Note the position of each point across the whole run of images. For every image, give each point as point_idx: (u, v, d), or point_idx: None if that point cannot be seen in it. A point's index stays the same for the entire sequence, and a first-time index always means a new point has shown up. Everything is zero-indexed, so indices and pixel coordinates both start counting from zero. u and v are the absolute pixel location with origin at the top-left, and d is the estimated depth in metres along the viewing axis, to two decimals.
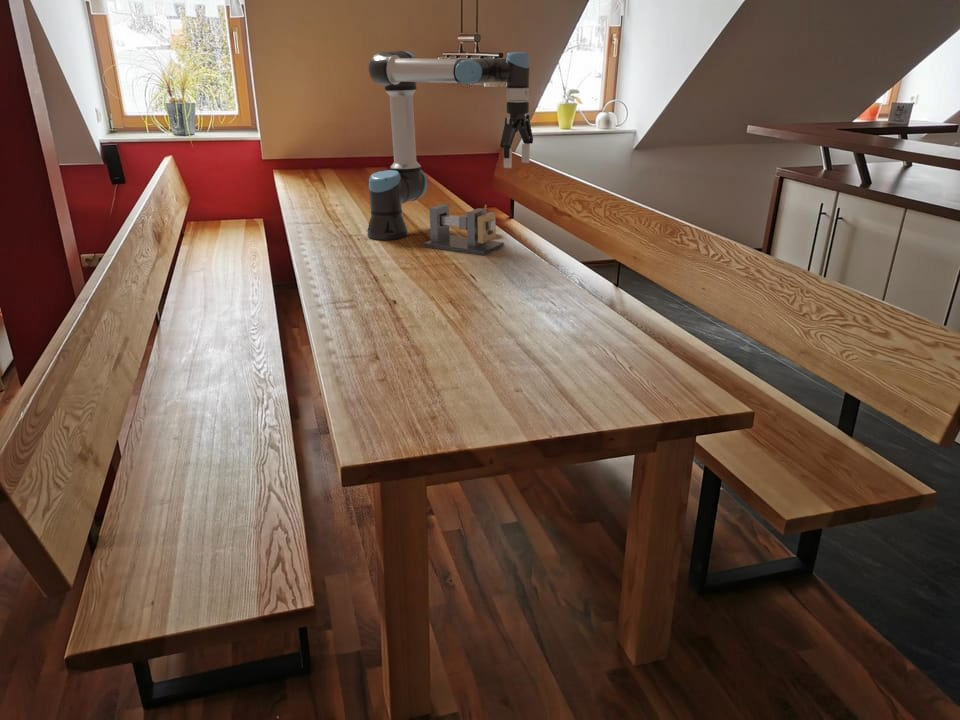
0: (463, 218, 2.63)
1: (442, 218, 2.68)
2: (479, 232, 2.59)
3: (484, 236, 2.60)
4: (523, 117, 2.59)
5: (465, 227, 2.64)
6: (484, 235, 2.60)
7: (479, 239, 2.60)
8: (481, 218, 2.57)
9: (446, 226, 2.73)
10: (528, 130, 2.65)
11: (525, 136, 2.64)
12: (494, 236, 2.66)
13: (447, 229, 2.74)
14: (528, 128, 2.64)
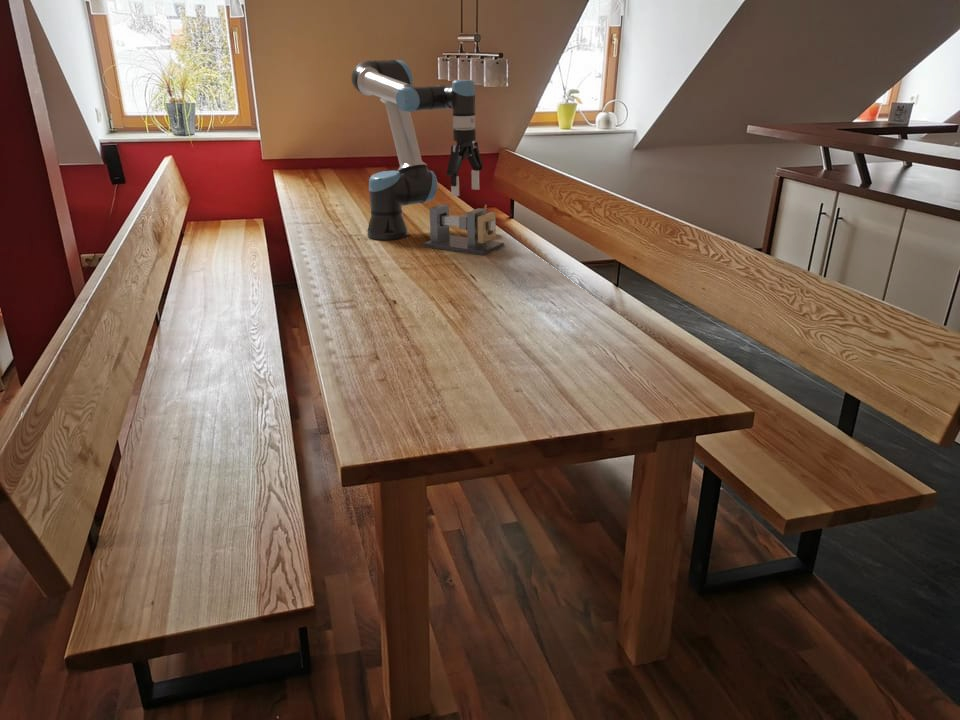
0: (463, 218, 2.63)
1: (442, 218, 2.68)
2: (479, 232, 2.59)
3: (484, 236, 2.60)
4: (471, 144, 2.57)
5: (465, 227, 2.64)
6: (484, 235, 2.60)
7: (479, 239, 2.60)
8: (481, 218, 2.57)
9: (446, 226, 2.73)
10: (477, 157, 2.63)
11: (474, 163, 2.62)
12: (494, 236, 2.66)
13: (447, 229, 2.74)
14: (477, 155, 2.62)
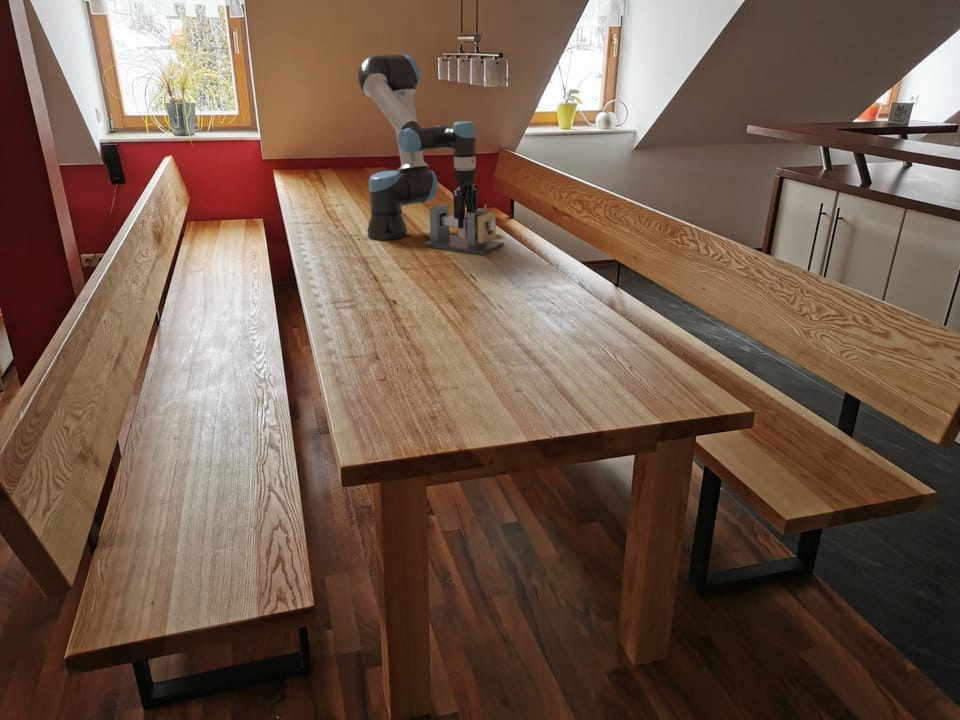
0: None
1: (442, 218, 2.68)
2: (479, 232, 2.59)
3: (484, 236, 2.60)
4: (471, 183, 2.62)
5: None
6: (484, 235, 2.60)
7: (479, 239, 2.60)
8: (481, 218, 2.57)
9: (446, 226, 2.73)
10: (474, 200, 2.66)
11: (470, 206, 2.65)
12: (494, 236, 2.66)
13: (447, 229, 2.74)
14: (474, 198, 2.66)
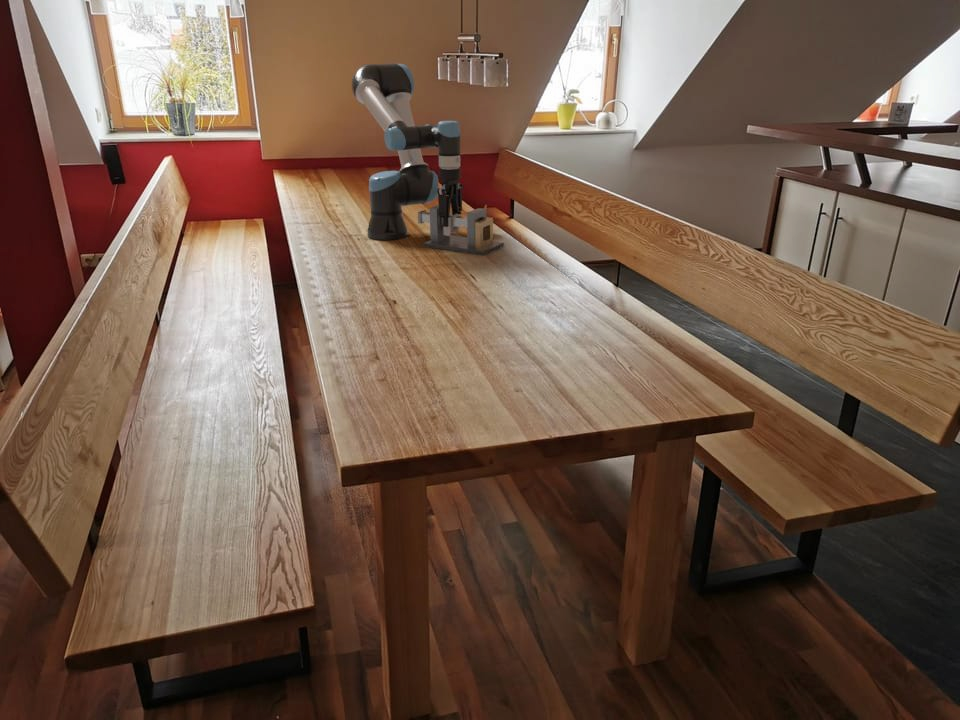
0: None
1: (428, 216, 2.71)
2: (476, 237, 2.60)
3: (481, 241, 2.61)
4: (456, 181, 2.65)
5: None
6: (481, 240, 2.61)
7: (476, 244, 2.61)
8: (478, 224, 2.58)
9: None
10: (459, 199, 2.69)
11: (455, 204, 2.68)
12: (491, 241, 2.67)
13: None
14: (459, 196, 2.69)
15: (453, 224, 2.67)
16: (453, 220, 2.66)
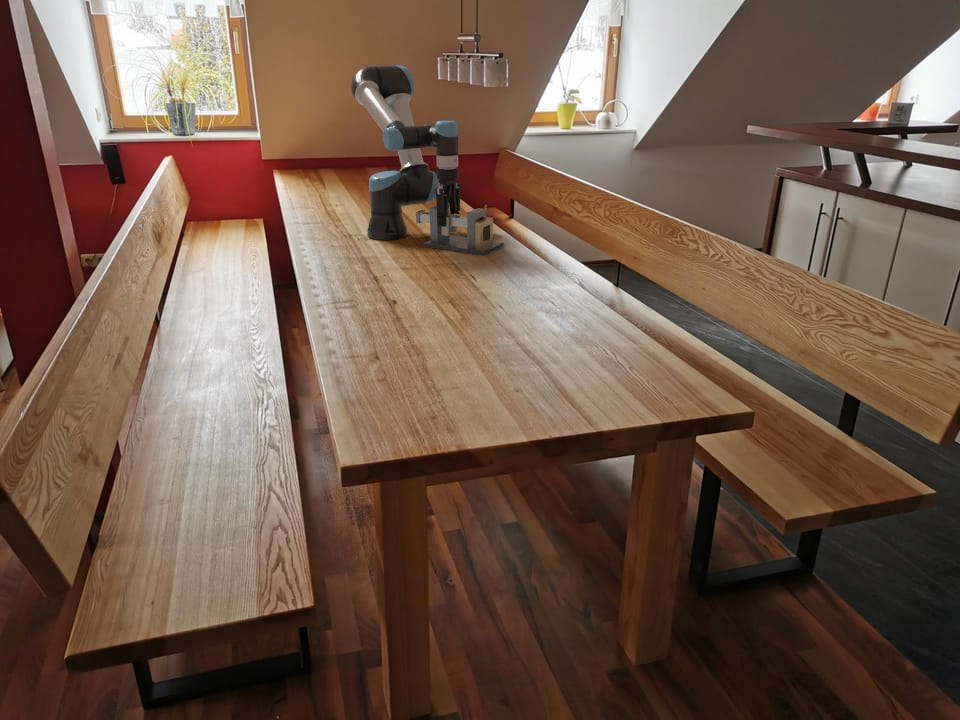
0: None
1: (426, 216, 2.71)
2: (476, 237, 2.60)
3: (481, 241, 2.61)
4: (454, 181, 2.65)
5: None
6: (481, 240, 2.61)
7: (476, 244, 2.61)
8: (478, 224, 2.58)
9: None
10: (457, 198, 2.70)
11: (453, 204, 2.68)
12: (491, 241, 2.67)
13: None
14: (457, 196, 2.69)
15: (451, 224, 2.67)
16: (451, 220, 2.66)
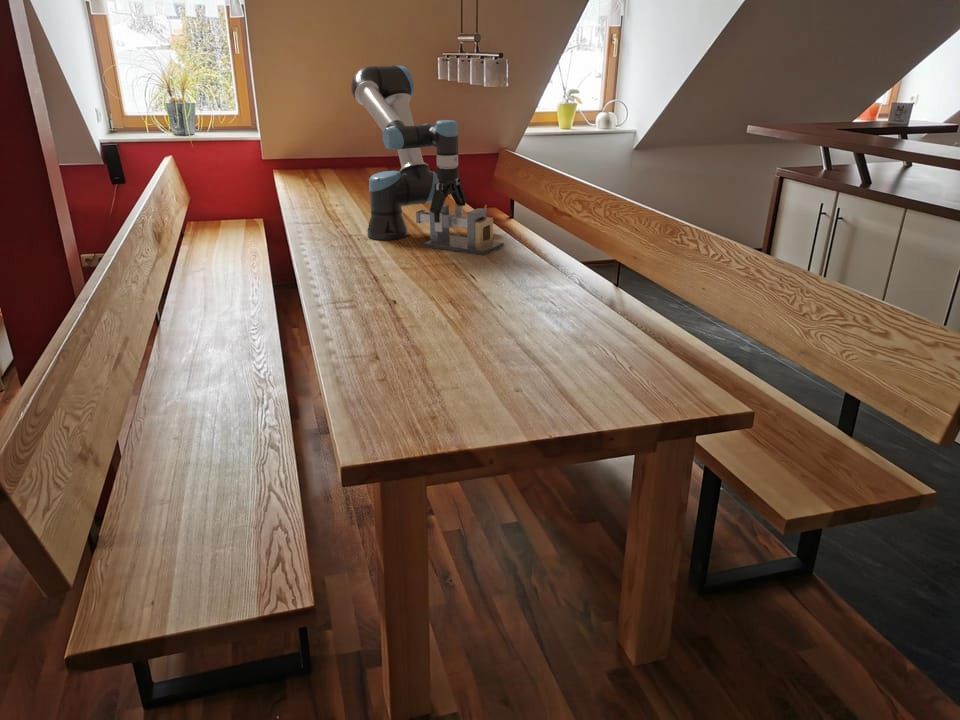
0: (446, 216, 2.66)
1: (426, 216, 2.71)
2: (476, 237, 2.60)
3: (481, 241, 2.61)
4: (454, 182, 2.65)
5: (448, 225, 2.67)
6: (481, 240, 2.61)
7: (476, 244, 2.61)
8: (478, 224, 2.58)
9: None
10: (460, 193, 2.71)
11: (457, 199, 2.70)
12: (491, 241, 2.67)
13: (447, 229, 2.74)
14: (460, 191, 2.70)
15: (451, 224, 2.67)
16: (451, 220, 2.66)
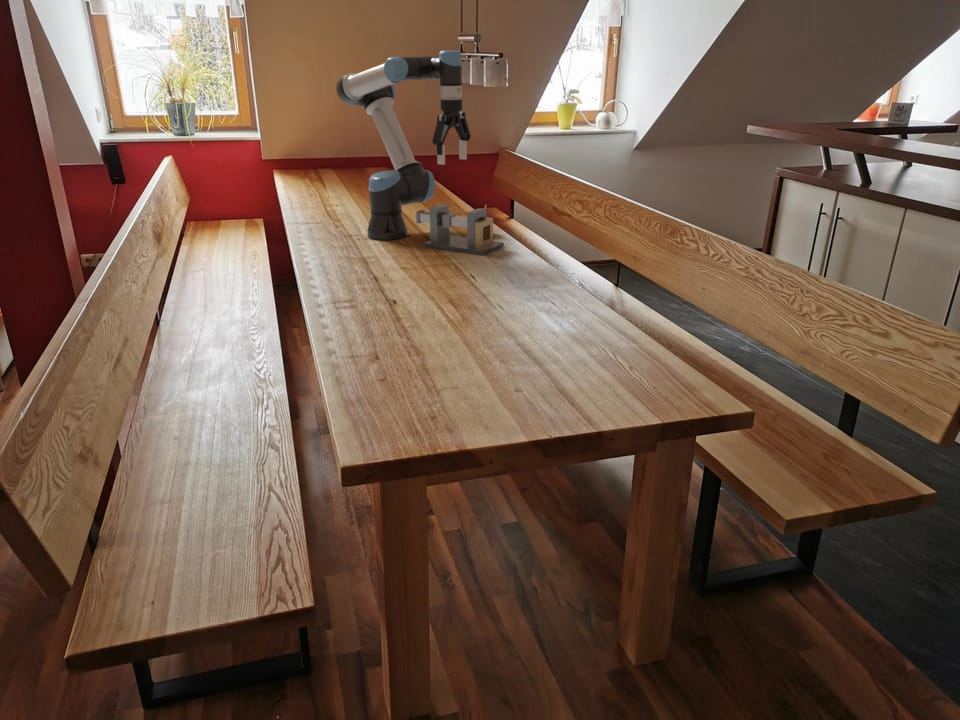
0: (446, 216, 2.66)
1: (426, 216, 2.71)
2: (476, 237, 2.60)
3: (481, 241, 2.61)
4: (458, 114, 2.62)
5: (448, 225, 2.67)
6: (481, 240, 2.61)
7: (476, 244, 2.61)
8: (478, 224, 2.58)
9: None
10: (465, 127, 2.68)
11: (461, 133, 2.67)
12: (491, 241, 2.67)
13: (447, 229, 2.74)
14: (464, 125, 2.68)
15: (451, 224, 2.67)
16: (451, 220, 2.66)
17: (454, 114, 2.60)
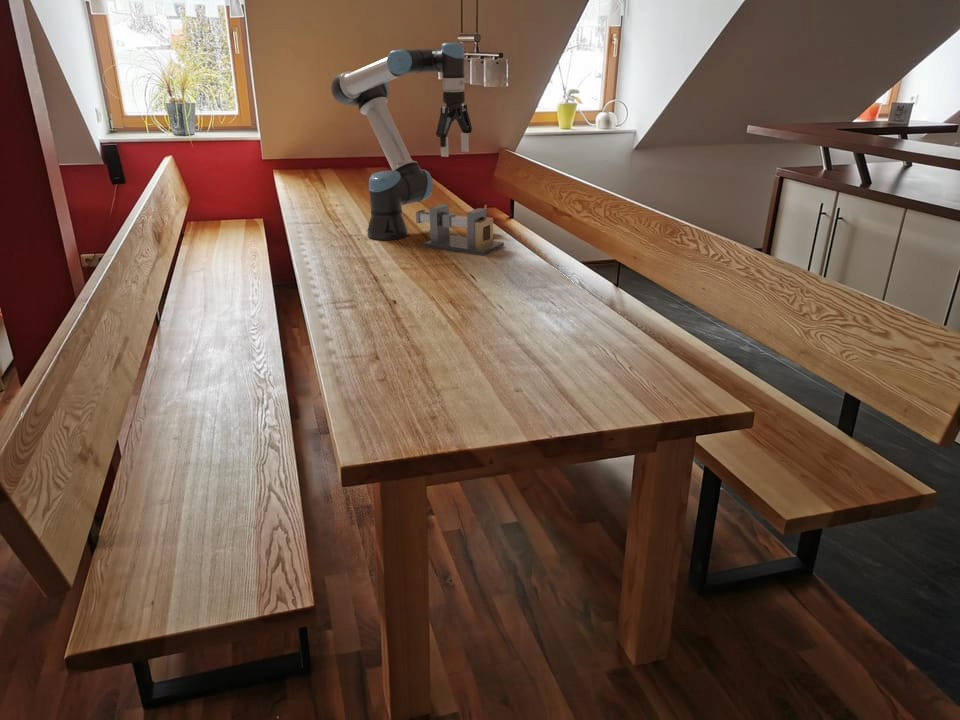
0: (446, 216, 2.66)
1: (426, 216, 2.71)
2: (476, 237, 2.60)
3: (481, 241, 2.61)
4: (460, 107, 2.64)
5: (448, 225, 2.67)
6: (481, 240, 2.61)
7: (476, 244, 2.61)
8: (478, 224, 2.58)
9: None
10: (466, 120, 2.70)
11: (463, 125, 2.69)
12: (491, 241, 2.67)
13: (447, 229, 2.74)
14: (466, 118, 2.69)
15: (451, 224, 2.67)
16: (451, 220, 2.66)
17: (457, 106, 2.62)
